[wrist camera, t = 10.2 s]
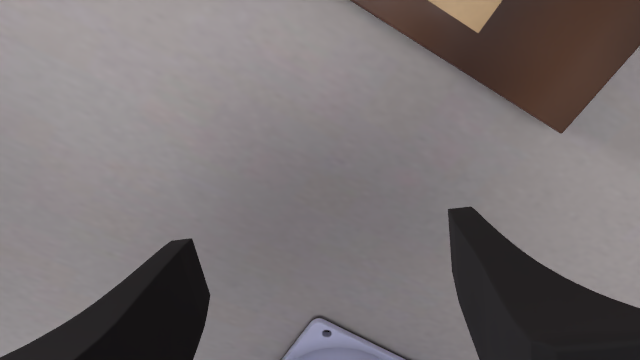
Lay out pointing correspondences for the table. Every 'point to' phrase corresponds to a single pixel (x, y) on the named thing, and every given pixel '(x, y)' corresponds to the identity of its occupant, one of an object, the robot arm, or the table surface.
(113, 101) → the table surface
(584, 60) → the cutting board
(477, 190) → the table surface
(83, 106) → the table surface
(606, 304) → the robot arm
